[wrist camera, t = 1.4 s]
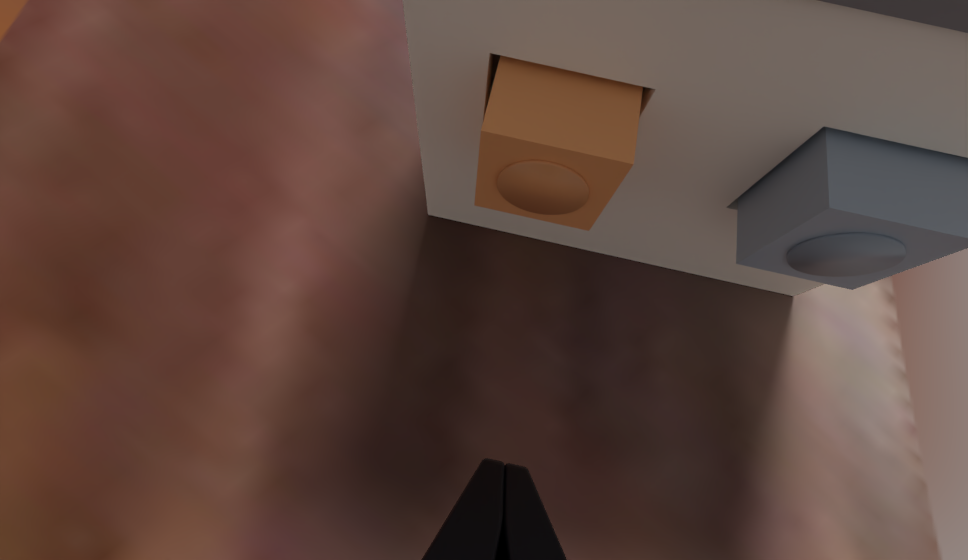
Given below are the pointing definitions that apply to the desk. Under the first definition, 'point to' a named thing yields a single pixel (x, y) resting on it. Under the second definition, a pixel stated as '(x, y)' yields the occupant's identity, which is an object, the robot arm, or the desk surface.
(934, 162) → the slate button
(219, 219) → the desk surface
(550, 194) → the orange button
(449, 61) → the control box
